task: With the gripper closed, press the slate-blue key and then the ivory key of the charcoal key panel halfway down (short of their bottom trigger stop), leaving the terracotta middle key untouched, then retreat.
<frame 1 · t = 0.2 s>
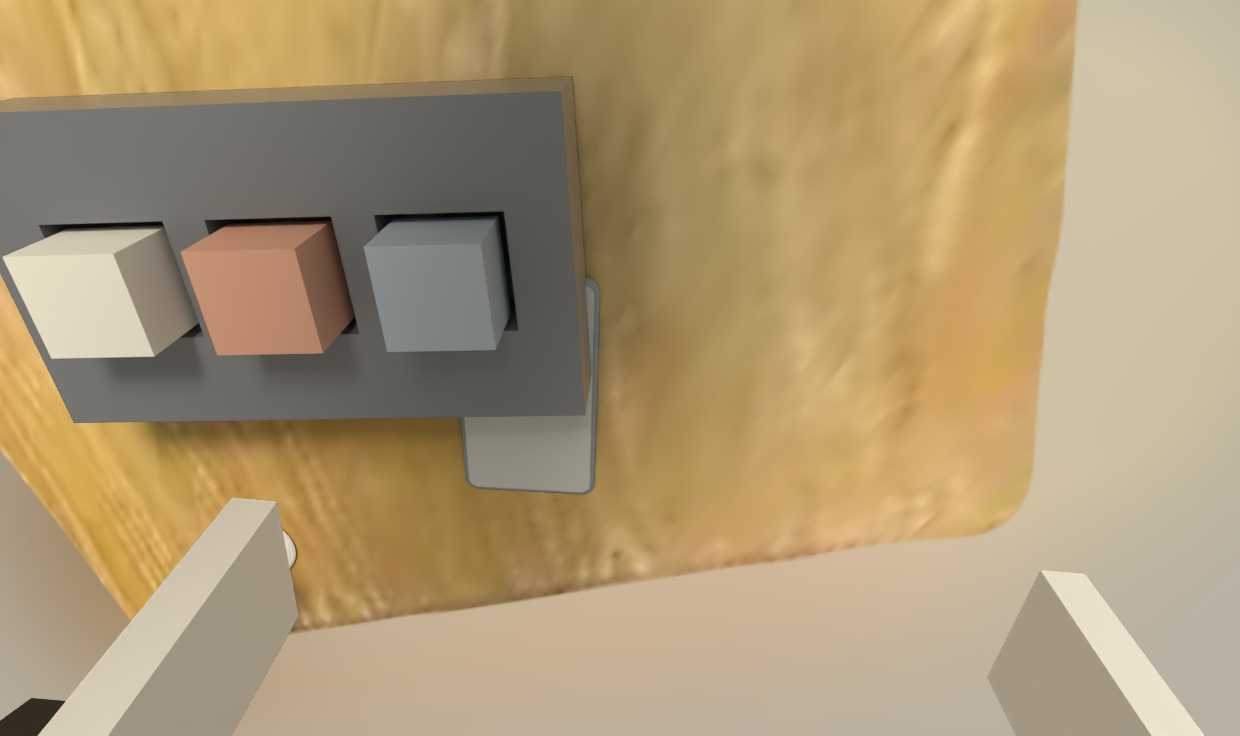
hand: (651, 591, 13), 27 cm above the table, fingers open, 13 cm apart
key panel: (326, 244, 38), on the table
slate key: (443, 283, 33), point 6 cm above the table, slide at 0.0 cm
ivory key: (110, 291, 33), point 6 cm above the table, slide at 0.0 cm
smartphone: (529, 385, 43), on the table
terracotta key: (275, 287, 33), point 6 cm above the table, slide at 0.0 cm
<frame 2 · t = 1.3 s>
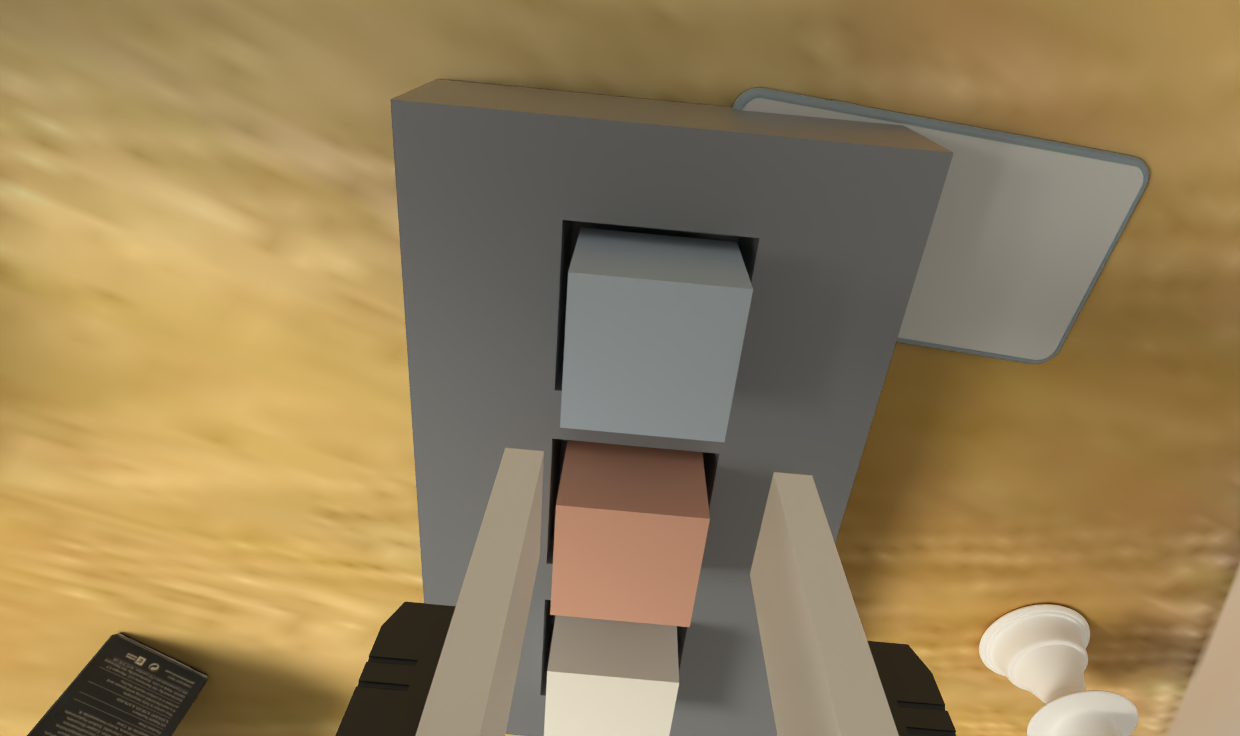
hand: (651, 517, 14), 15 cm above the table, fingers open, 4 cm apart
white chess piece: (1030, 636, 36), on the table
key panel: (631, 437, 31), on the table
box: (142, 684, 41), on the table
slate key: (650, 332, 22), point 6 cm above the table, slide at 0.0 cm
ivory key: (610, 675, 30), point 6 cm above the table, slide at 0.0 cm
smartphone: (901, 231, 27), on the table
terracotta key: (627, 529, 26), point 6 cm above the table, slide at 0.0 cm
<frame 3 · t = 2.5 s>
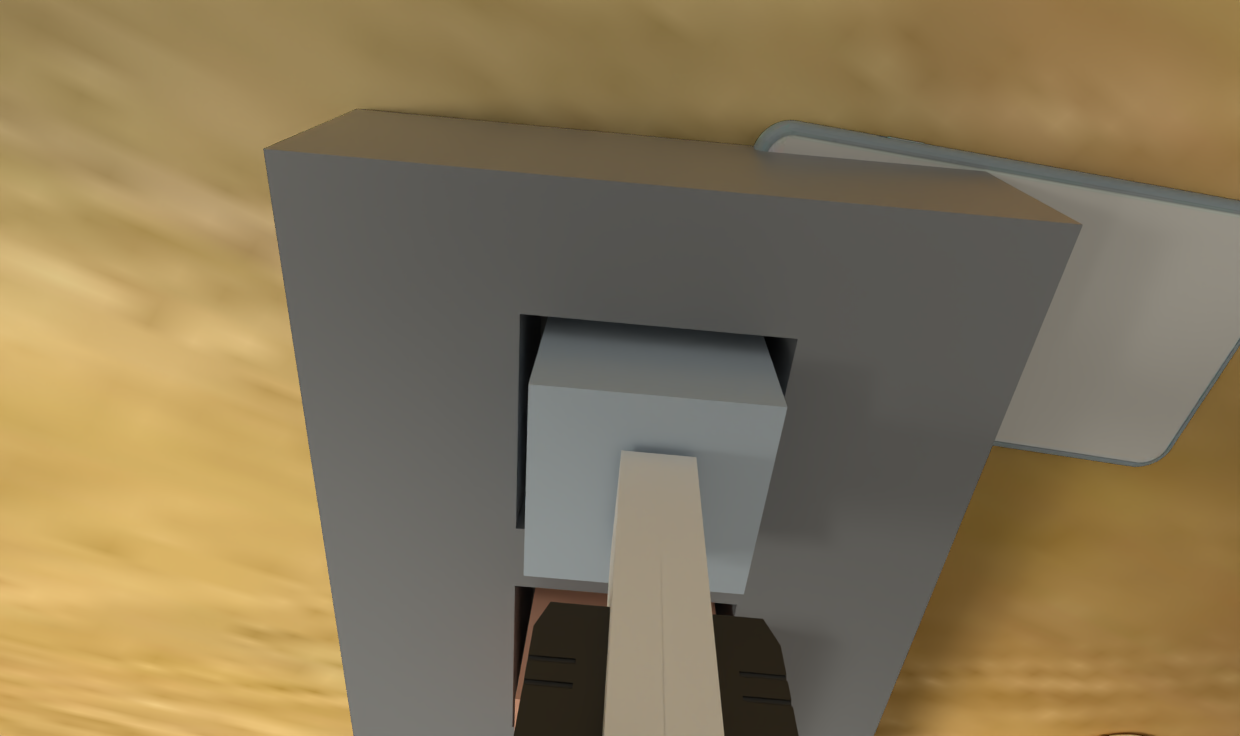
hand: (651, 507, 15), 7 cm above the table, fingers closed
key panel: (621, 548, 25), on the table
slate key: (645, 443, 17), point 5 cm above the table, slide at 0.9 cm, touching gripper
smartphone: (971, 302, 21), on the table
terracotta key: (615, 700, 20), point 6 cm above the table, slide at 0.0 cm
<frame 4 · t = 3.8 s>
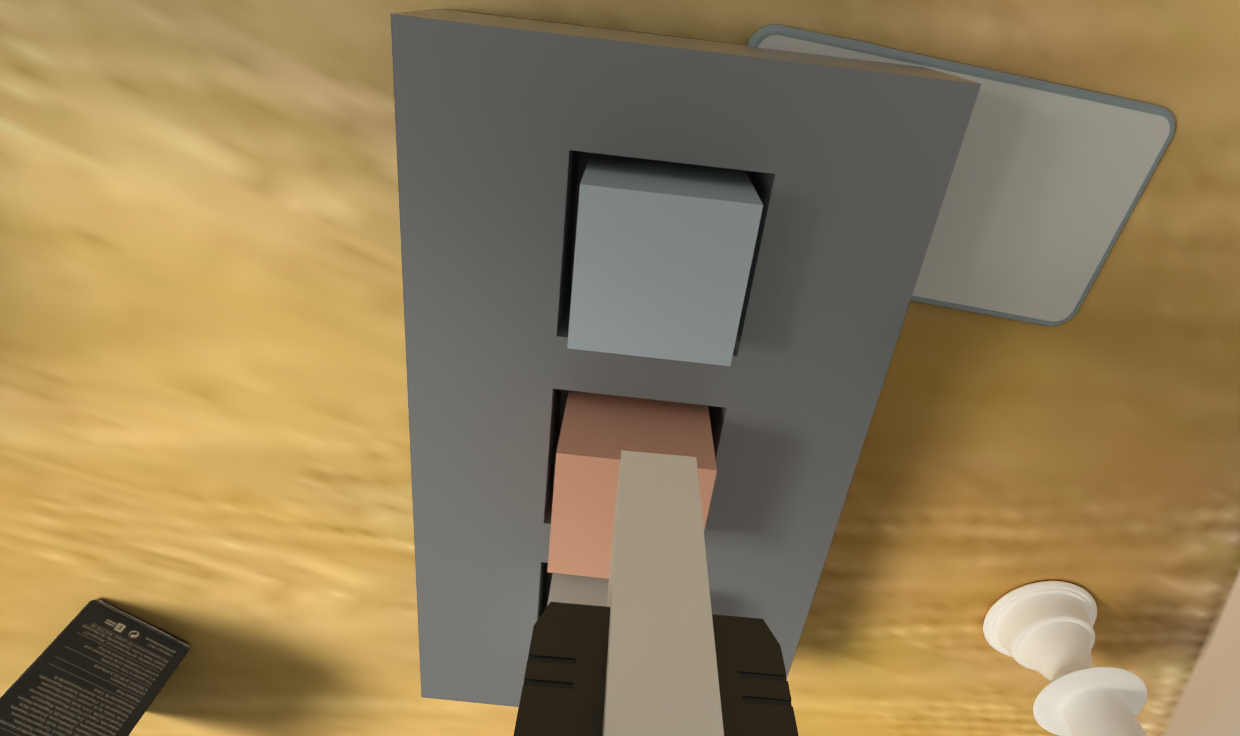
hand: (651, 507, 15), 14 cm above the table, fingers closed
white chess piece: (1035, 615, 35), on the table
key panel: (633, 398, 30), on the table
box: (121, 653, 39), on the table
slate key: (658, 257, 22), point 5 cm above the table, slide at 1.3 cm
ivory key: (607, 642, 29), point 6 cm above the table, slide at 0.0 cm
smartphone: (917, 183, 26), on the table
terracotta key: (629, 485, 25), point 6 cm above the table, slide at 0.0 cm
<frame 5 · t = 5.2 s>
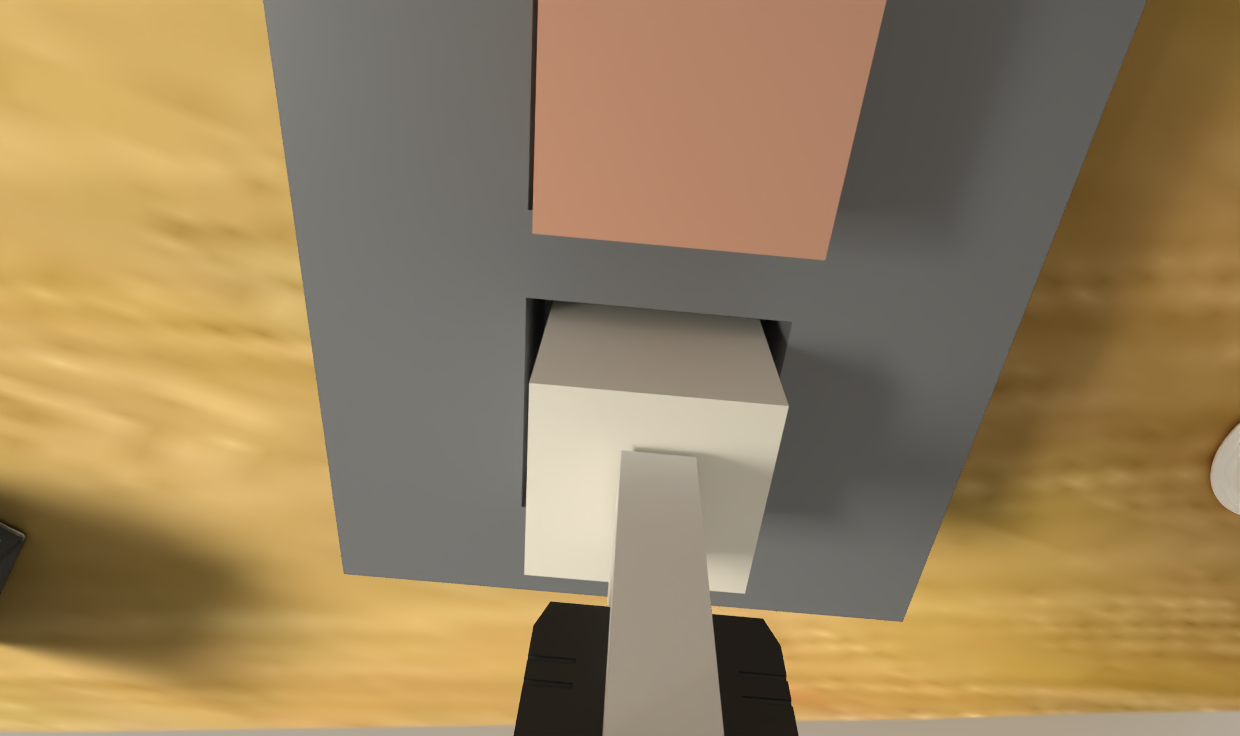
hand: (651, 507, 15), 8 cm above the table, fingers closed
key panel: (678, 48, 18), on the table
ivory key: (646, 442, 16), point 6 cm above the table, slide at 0.1 cm, touching gripper
terracotta key: (691, 75, 13), point 6 cm above the table, slide at 0.0 cm
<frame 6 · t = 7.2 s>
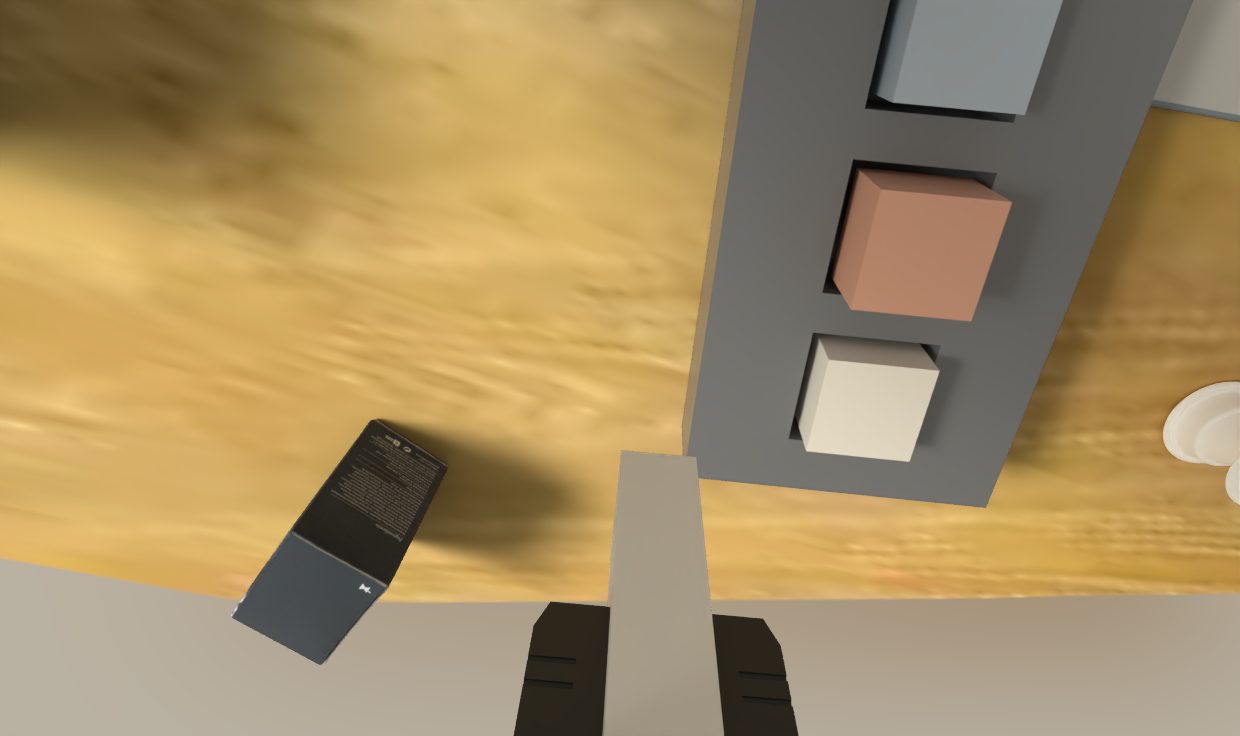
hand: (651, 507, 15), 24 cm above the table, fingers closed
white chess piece: (1210, 420, 40), on the table
key panel: (875, 206, 35), on the table
box: (383, 477, 45), on the table
slate key: (959, 33, 27), point 5 cm above the table, slide at 1.3 cm
ivory key: (860, 391, 35), point 5 cm above the table, slide at 1.3 cm
terracotta key: (912, 242, 30), point 6 cm above the table, slide at 0.0 cm
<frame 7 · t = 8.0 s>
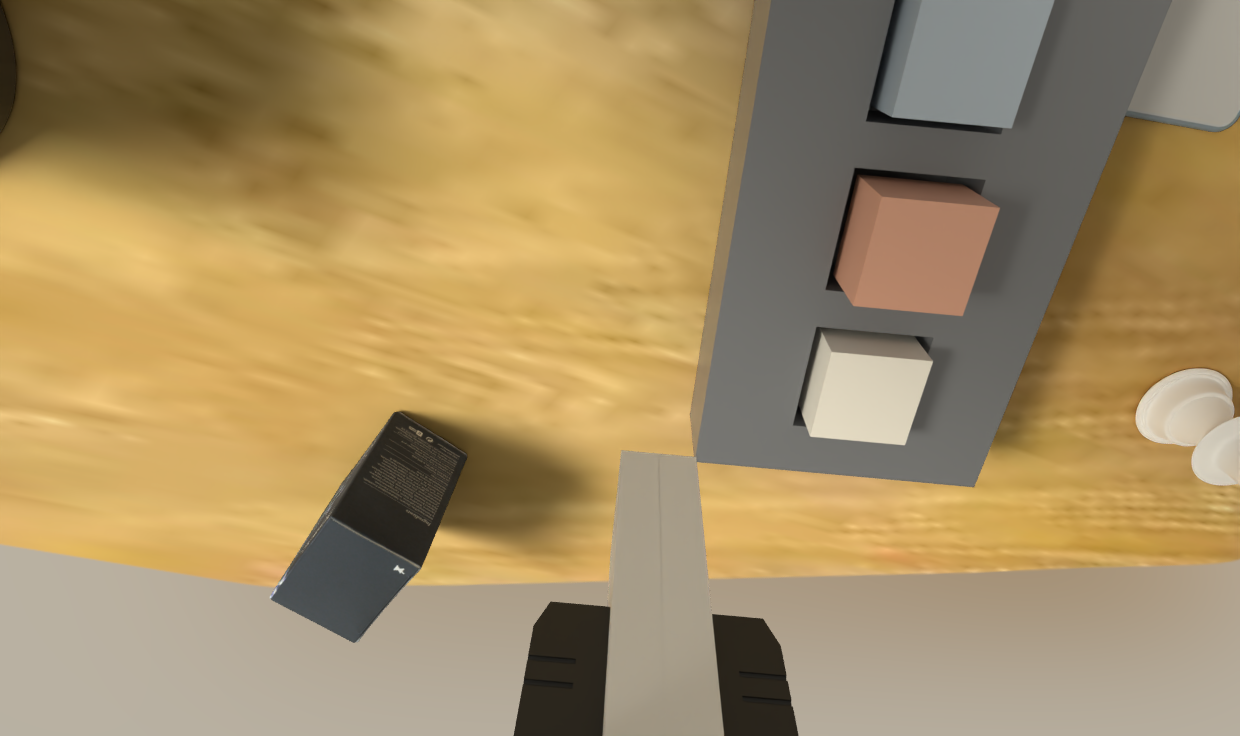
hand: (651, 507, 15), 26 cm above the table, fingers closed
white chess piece: (1179, 403, 43), on the table
key panel: (872, 208, 38), on the table
box: (404, 466, 48), on the table
slate key: (952, 53, 30), point 5 cm above the table, slide at 1.3 cm
ivory key: (859, 380, 37), point 5 cm above the table, slide at 1.3 cm
smartphone: (1118, 15, 34), on the table
terracotta key: (909, 244, 33), point 6 cm above the table, slide at 0.0 cm
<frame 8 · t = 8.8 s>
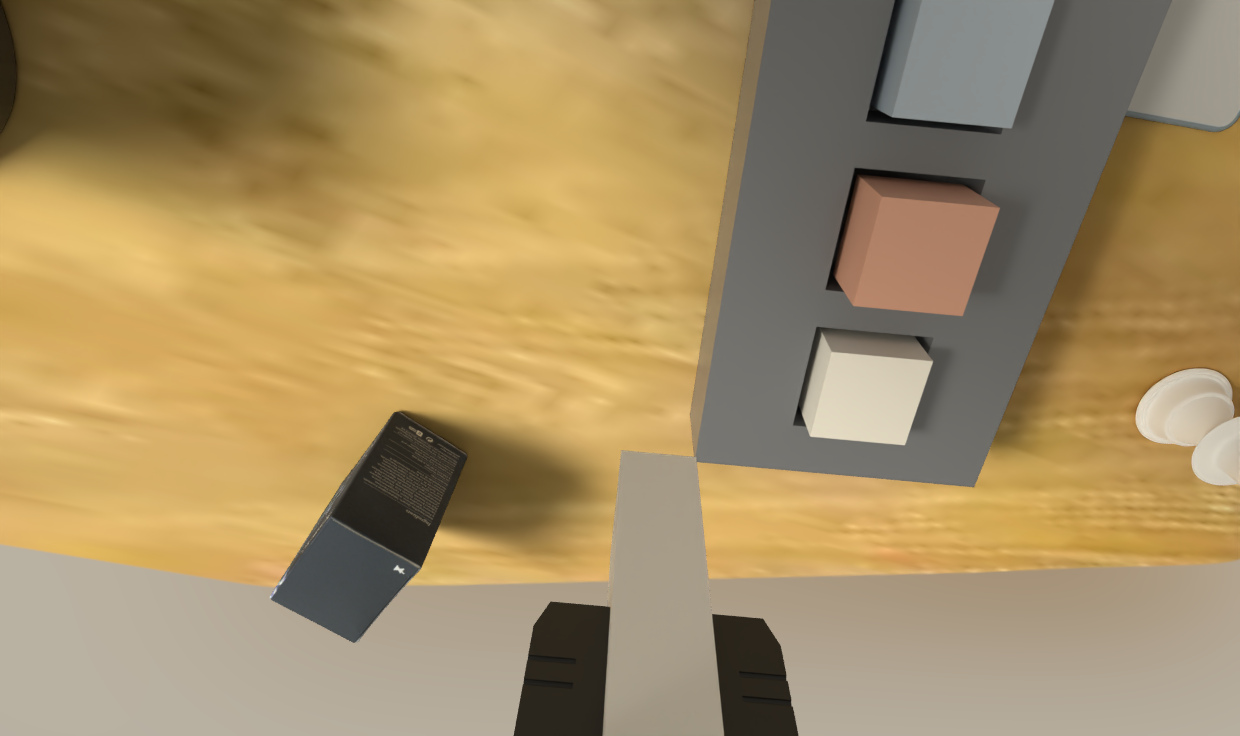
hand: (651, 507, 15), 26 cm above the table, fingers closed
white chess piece: (1179, 403, 43), on the table
key panel: (872, 208, 38), on the table
box: (404, 466, 48), on the table
slate key: (952, 53, 30), point 5 cm above the table, slide at 1.3 cm
ivory key: (859, 380, 37), point 5 cm above the table, slide at 1.3 cm
smartphone: (1118, 15, 34), on the table
terracotta key: (909, 244, 33), point 6 cm above the table, slide at 0.0 cm
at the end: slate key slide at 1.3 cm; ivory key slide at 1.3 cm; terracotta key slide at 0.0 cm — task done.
